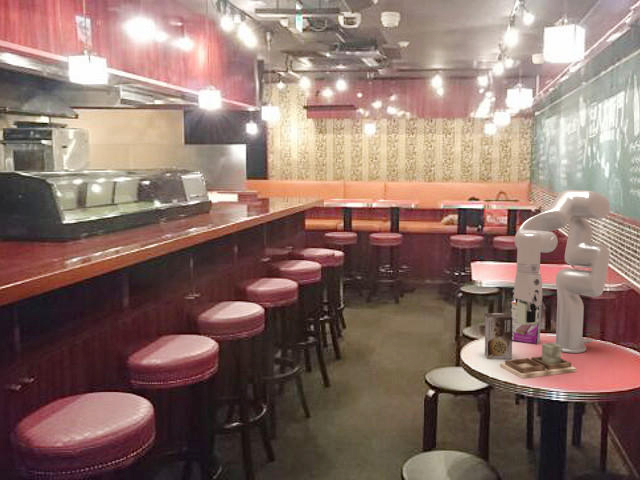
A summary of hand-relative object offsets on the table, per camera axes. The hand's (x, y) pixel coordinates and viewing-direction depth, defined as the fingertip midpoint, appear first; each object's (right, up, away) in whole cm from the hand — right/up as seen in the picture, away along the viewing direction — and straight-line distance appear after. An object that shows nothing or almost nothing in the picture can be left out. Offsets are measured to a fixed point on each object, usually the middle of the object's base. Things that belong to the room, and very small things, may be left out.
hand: (526, 319), depth 212 cm
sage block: (0, -1, 0) cm, 1 cm away
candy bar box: (+12, -14, +38) cm, 43 cm away
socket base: (+5, -18, +4) cm, 19 cm away
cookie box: (-4, -16, +19) cm, 25 cm away
